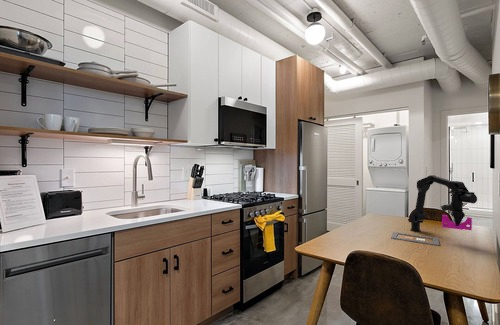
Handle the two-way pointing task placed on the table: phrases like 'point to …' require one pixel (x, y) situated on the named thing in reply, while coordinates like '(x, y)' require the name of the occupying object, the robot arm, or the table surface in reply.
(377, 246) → the table surface
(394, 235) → the frame
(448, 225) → the toy block
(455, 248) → the table surface
